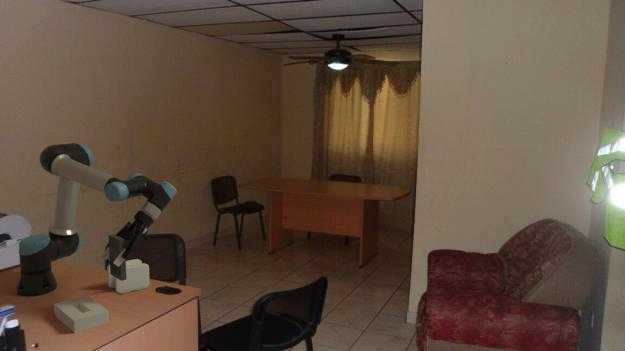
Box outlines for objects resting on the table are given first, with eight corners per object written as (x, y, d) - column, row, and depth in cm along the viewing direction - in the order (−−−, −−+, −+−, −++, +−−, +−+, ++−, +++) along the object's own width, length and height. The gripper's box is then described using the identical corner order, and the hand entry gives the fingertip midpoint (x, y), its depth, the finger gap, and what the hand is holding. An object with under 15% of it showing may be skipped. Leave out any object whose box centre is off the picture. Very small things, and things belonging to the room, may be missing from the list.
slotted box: (54, 318, 177) (53, 303, 176) (87, 309, 186) (86, 295, 185) (75, 337, 163) (74, 320, 163) (109, 326, 172) (108, 310, 171)
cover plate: (110, 274, 185) (108, 235, 183) (115, 273, 187) (113, 234, 185) (121, 280, 179) (119, 240, 176) (126, 279, 180) (124, 239, 178)
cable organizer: (115, 296, 199) (114, 270, 197) (107, 288, 207) (106, 263, 205) (149, 288, 209) (149, 263, 207) (141, 281, 217) (140, 257, 215)
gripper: (167, 225, 183) (129, 273, 174) (140, 215, 199) (105, 259, 190) (154, 214, 179) (115, 263, 170) (127, 205, 194) (90, 249, 185)
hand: (109, 261), depth 180 cm, fingers closed on cover plate, 10 cm apart
